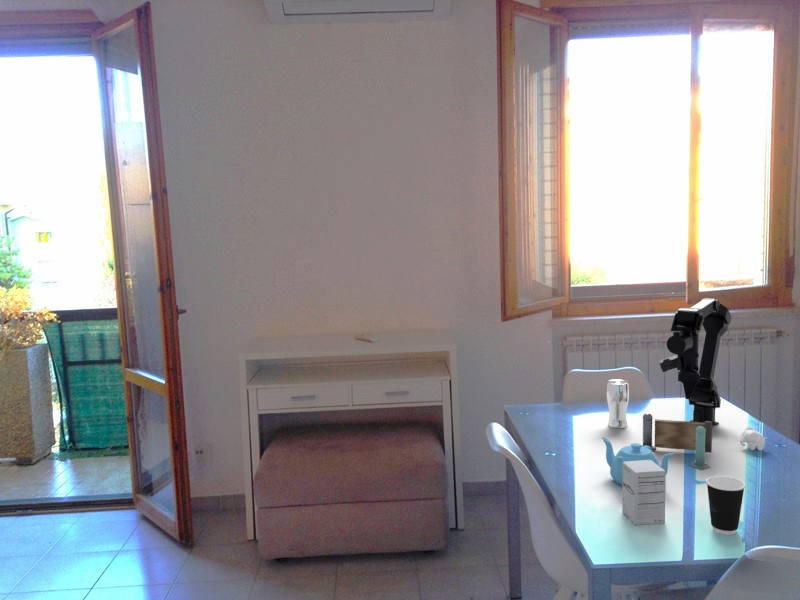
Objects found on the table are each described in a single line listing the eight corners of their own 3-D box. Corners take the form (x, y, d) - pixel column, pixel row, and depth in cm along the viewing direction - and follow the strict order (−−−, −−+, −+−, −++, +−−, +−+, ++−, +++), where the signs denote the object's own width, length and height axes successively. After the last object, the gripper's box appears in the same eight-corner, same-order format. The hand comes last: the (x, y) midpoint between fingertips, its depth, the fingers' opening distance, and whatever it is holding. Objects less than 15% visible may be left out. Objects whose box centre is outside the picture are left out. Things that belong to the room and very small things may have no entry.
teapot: (655, 471, 187) (655, 435, 186) (675, 493, 172) (676, 453, 171) (601, 472, 188) (601, 436, 186) (617, 494, 173) (617, 455, 172)
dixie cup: (696, 527, 153) (697, 480, 152) (720, 519, 157) (721, 473, 155) (728, 541, 146) (729, 492, 145) (752, 532, 150) (753, 484, 149)
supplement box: (621, 512, 162) (621, 460, 161) (651, 510, 163) (652, 458, 161) (634, 526, 155) (634, 472, 153) (666, 523, 155) (666, 470, 154)
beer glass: (626, 422, 231) (626, 379, 229) (630, 429, 224) (631, 384, 222) (604, 422, 232) (604, 379, 230) (609, 429, 225) (609, 384, 223)
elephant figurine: (735, 444, 206) (735, 425, 205) (764, 445, 204) (764, 426, 204) (741, 452, 199) (742, 432, 199) (771, 453, 198) (772, 433, 197)
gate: (654, 448, 203) (654, 419, 202) (654, 446, 205) (654, 417, 204) (711, 453, 197) (712, 423, 196) (711, 450, 199) (712, 421, 198)
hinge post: (647, 445, 208) (647, 410, 207) (660, 450, 203) (660, 414, 202) (634, 448, 206) (635, 412, 205) (647, 453, 201) (647, 416, 200)
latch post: (699, 462, 192) (700, 423, 191) (711, 467, 189) (711, 427, 187) (688, 465, 191) (689, 425, 189) (700, 469, 187) (701, 429, 186)
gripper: (660, 342, 225) (660, 389, 226) (660, 353, 207) (660, 403, 209) (697, 343, 221) (696, 391, 222) (700, 355, 203) (699, 406, 205)
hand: (687, 397), depth 215 cm, fingers open, 3 cm apart
